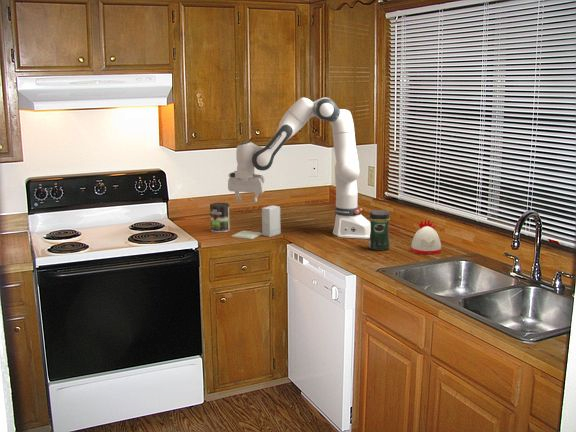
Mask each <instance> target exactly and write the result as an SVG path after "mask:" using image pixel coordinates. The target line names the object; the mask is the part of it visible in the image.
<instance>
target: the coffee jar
mask: <svg viewBox="0 0 576 432" xmlns="http://www.w3.org/2000/svg"><path fill="white" fill-rule="evenodd" d="M390 217H391V216H390V212H389V210H387V209H384V210H383V209H371V210H370V212H369V218H368V221H370V223H371V230H370V238H369V241H368V242H369V243H368V247H369V248H368V249H371V250H372V251H373V250H375V251H385V250H389V249H390V236H389V235H390V234H389V223H390V221H391V219H390Z"/></svg>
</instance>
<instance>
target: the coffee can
mask: <svg viewBox="0 0 576 432" xmlns="http://www.w3.org/2000/svg"><path fill="white" fill-rule="evenodd" d="M209 209H210V231H211V232H212V233H226V232H230V230H231V229H230V225H231V224H230V203H228V202H214V203H210V204H209Z"/></svg>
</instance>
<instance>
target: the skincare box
mask: <svg viewBox="0 0 576 432" xmlns="http://www.w3.org/2000/svg"><path fill="white" fill-rule="evenodd" d="M261 223H262V224H261V225H262V226H261V231H262V232H261V233H262V235H261V236H265V237H269V238H271V237H275V236H278V235H280V234H282V233H281V231H282V230H281V206H278V205H274V204H272V205H268V206H264V207H261Z"/></svg>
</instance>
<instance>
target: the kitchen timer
mask: <svg viewBox="0 0 576 432" xmlns="http://www.w3.org/2000/svg"><path fill="white" fill-rule="evenodd" d="M433 223H434V221H431V222H430V219H426V218H425V219H424V222H423V220H422V219H421V220H420V222H419V221H418V222H417V224H418V227H419V229H418V230H417V231H416V233H415V234H413V238H412V241H411V245H410V251H411V252H412V253H415V254H419V255H436V254H440V253H441V252H442V243H441V240H440V236H439V235H438V233H437V230H435V227H436V223H435V224H434V225H433Z"/></svg>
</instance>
